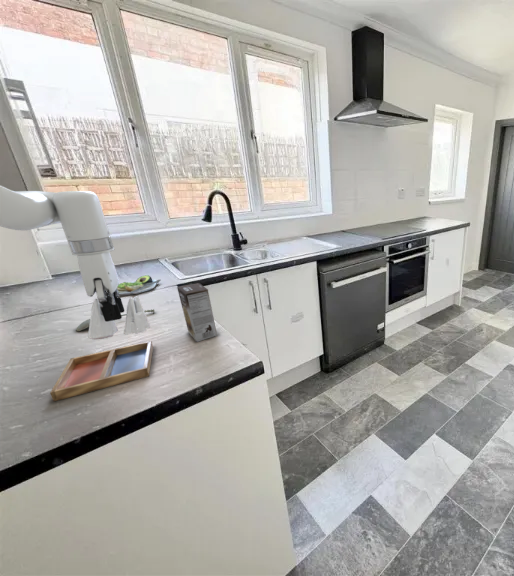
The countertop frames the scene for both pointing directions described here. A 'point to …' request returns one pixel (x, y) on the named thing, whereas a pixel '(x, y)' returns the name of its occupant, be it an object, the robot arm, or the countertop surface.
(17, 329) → the countertop surface
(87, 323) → the soupspoon
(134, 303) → the shaker set
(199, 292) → the coffee box
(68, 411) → the countertop surface
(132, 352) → the sorting tray
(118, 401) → the countertop surface
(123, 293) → the avocado toast plate
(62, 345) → the countertop surface
